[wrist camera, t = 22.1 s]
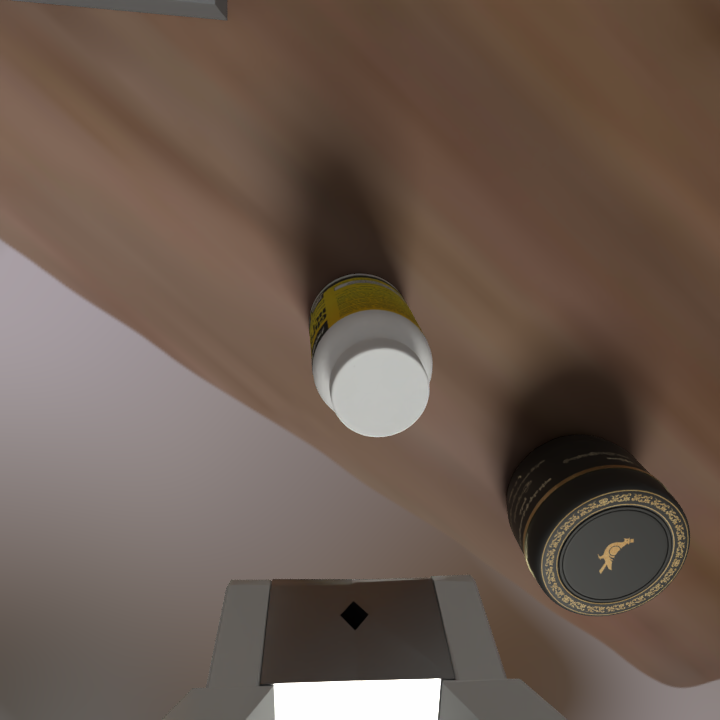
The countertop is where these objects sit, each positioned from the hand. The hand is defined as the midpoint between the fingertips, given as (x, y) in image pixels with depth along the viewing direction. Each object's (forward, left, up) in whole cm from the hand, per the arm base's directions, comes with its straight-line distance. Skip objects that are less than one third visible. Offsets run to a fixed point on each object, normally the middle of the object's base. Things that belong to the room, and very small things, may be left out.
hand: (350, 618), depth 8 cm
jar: (-20, +18, -32) cm, 42 cm away
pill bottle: (-4, +6, -32) cm, 33 cm away
